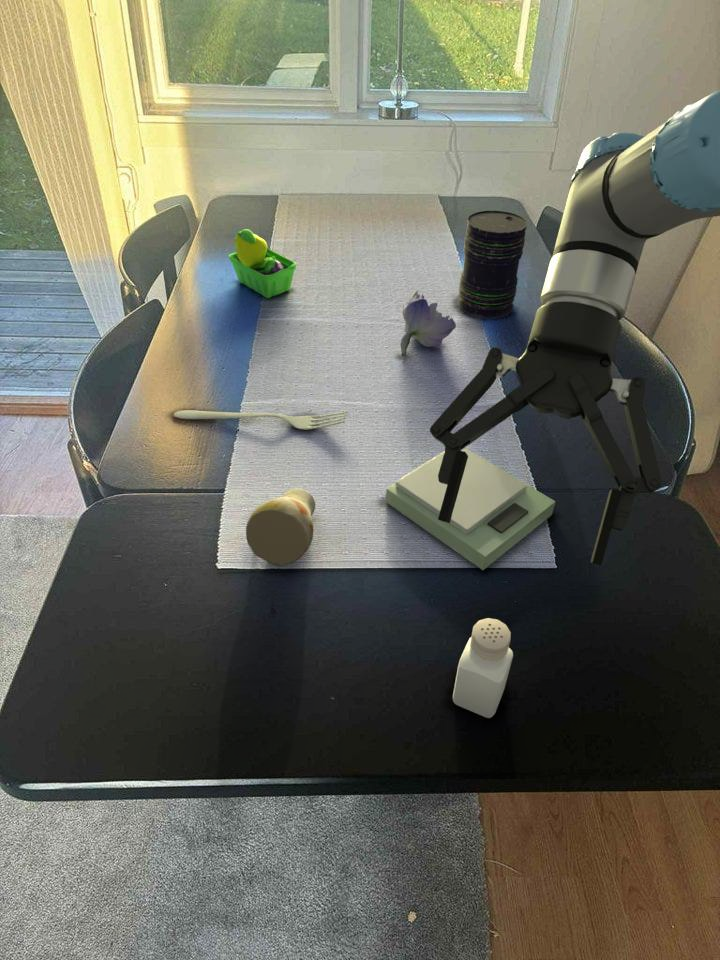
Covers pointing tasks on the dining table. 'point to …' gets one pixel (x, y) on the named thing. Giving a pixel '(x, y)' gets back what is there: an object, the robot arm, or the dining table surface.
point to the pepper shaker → (484, 668)
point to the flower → (424, 323)
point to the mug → (282, 527)
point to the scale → (472, 508)
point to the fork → (295, 421)
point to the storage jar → (491, 263)
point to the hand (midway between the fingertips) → (517, 542)
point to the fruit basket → (261, 265)
